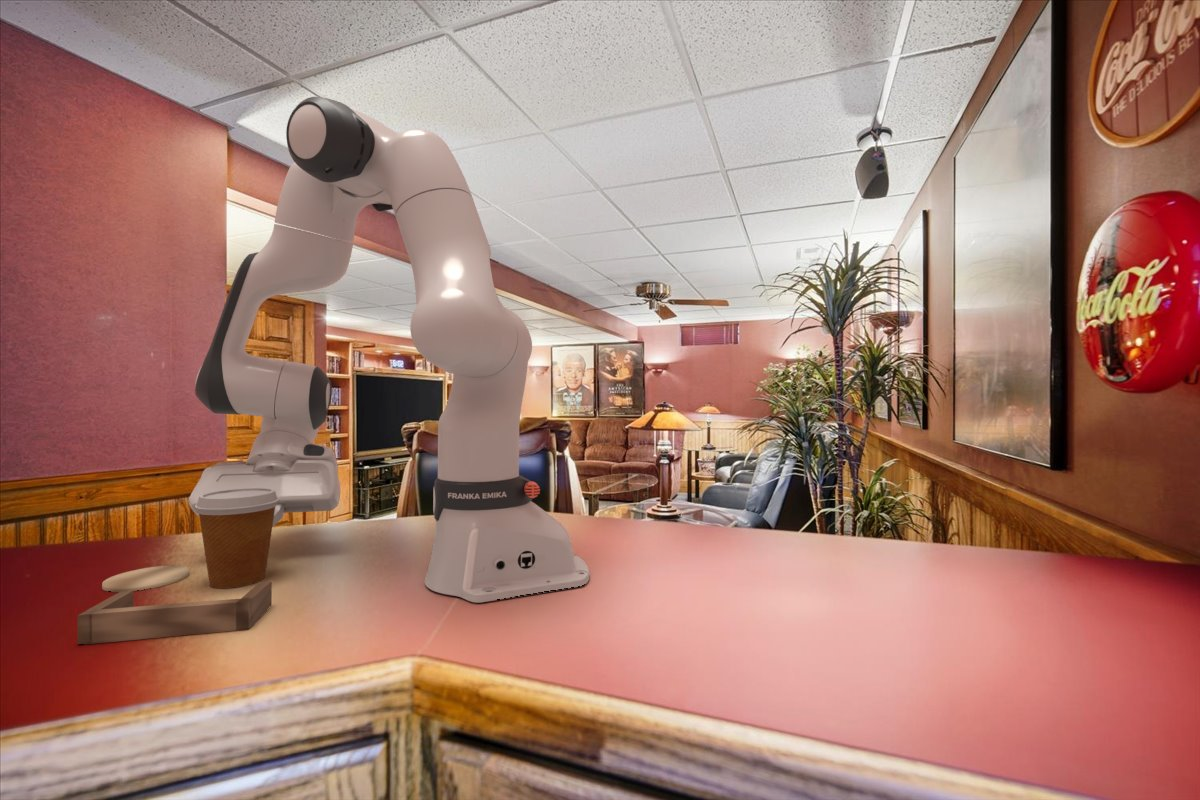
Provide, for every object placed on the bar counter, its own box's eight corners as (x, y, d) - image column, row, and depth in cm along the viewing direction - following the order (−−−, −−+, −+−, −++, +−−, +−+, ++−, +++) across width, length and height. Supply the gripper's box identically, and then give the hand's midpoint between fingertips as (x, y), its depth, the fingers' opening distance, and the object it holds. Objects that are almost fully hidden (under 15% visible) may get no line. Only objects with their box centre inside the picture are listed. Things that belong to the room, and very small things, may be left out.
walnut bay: (271, 605, 63) (271, 580, 63) (248, 629, 56) (248, 601, 56) (120, 617, 59) (120, 591, 59) (77, 645, 53) (77, 615, 53)
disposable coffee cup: (236, 595, 66) (237, 500, 66) (175, 590, 68) (175, 497, 68) (294, 571, 75) (295, 488, 75) (239, 567, 77) (239, 486, 77)
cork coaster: (201, 567, 77) (201, 563, 77) (167, 588, 68) (167, 584, 68) (128, 572, 75) (128, 568, 75) (84, 594, 66) (84, 590, 66)
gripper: (200, 450, 82) (165, 527, 73) (342, 448, 87) (326, 519, 78) (213, 475, 87) (182, 550, 77) (348, 471, 92) (334, 541, 82)
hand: (256, 534), depth 78 cm, fingers closed
